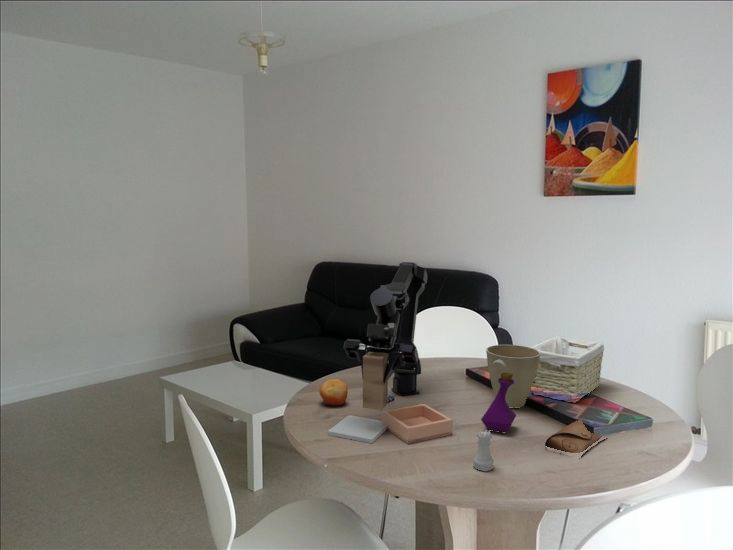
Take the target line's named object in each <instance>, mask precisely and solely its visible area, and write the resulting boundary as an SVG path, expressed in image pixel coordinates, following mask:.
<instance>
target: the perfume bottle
mask: <svg viewBox="0 0 733 550" xmlns="http://www.w3.org/2000/svg"><path fill="white" fill-rule="evenodd" d="M495 362H498V363H500V364H502V365H503V366H504V367H505V368H506V364H505V363H504V362H503V361H502V360H496V361H494V362H493V364H494V363H495ZM493 364H492V368H493ZM512 376H513V374H512V373H507V368H506V373H502V374H501V378H499V379H498V382H499V383H500V389H499V391H498V393H497V395H496V397H495V396H494V399H493V401H492V402H491V404H490V405H489V406H488V408H487V410H486V411H485V413H484V415H483V416H482V417H481V419H480V420H481V422H482V423H483V425H484V426H485V427H486V430H487V431H489V430H493V431H499V432H506V433H507V431H509V429H510V428H511V427H512V424H513V423H514V421H515V419H516V417H517V414H516V413H515V411H513V409H510V408H509V406H508V405H507V403H506V400H505V396H506V392H507V390H508V388H509V387H510V386H511V384H514V380H512Z"/></svg>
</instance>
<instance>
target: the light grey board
mask: <svg viewBox="0 0 733 550" xmlns="http://www.w3.org/2000/svg"><path fill="white" fill-rule="evenodd" d="M386 431H388V430H387V425H386V424H384V423H383V422H382V420H379V419H373V418H368V417H362V416H357V415H350V414H348V415H347V416H345V418H343V419H341V420H340V421H339V422H338V423H336V424H335V425H334V426H332V427H331V428H329V430H327V436H331V437H335V438H340V439H346V440H347V439H348V440H351V439H352V441H357V442H362V443H367V444H374V443H375V442H376V441H377V440H378V439H379V438H380V437H381V436H382V435H383V434H384V433H385V432H386Z"/></svg>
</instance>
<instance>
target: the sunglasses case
mask: <svg viewBox="0 0 733 550" xmlns="http://www.w3.org/2000/svg"><path fill="white" fill-rule="evenodd" d="M578 419H579V420H578ZM578 419H577V420H578V421H577V420H576V421H573V422H571V423H569V424H568V425H566V426H564V427H563V428H561V429H560V430H558V431H556V432H555V433H554V434H552V435H550V436H549V437H548V438H546V440H545V444H544V447H545V446H547V447H550V448H554V449H557V450H561V451H565V452H570V453H580V452H583V451H584V450H586V449H587V448H588V447H589V446H591V445H592V444H593V443H595V442H596V441H598V440H599V439H600V438H601V437H602V436H600V435H597V434H593V433H591V432H590V431H588V430H587V428H586V427H585V425H584V424H583V422H584V421H583V420H582V419H581V418H580V417H579V418H578ZM582 421H583V422H582Z"/></svg>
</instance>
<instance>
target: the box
mask: <svg viewBox="0 0 733 550" xmlns="http://www.w3.org/2000/svg"><path fill="white" fill-rule="evenodd" d="M381 421H382V422H383V423H384V424H386V425H387V430H386V431H389V432H390V433H391V434H393V435H394V436H395V437H396V438H398V439H400V440H401V441H403V442H404V443H405V444H407V445H410V444H414V443H415V444H416V443H420V442H424V441H429V440H433V439H439V438H443V437H447V436H451V435H453V431H454V430H453V426H454V422H453V421H454V420H453V418H451V417H448V416H447V415H445V414H443V413H441V412H439V411H438V410H436V409H434V408H433V407H431V406H429V405H428V404H425V403H420V404H414V405H409V406H403V407H398V408H392V409H386V410H381Z"/></svg>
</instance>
